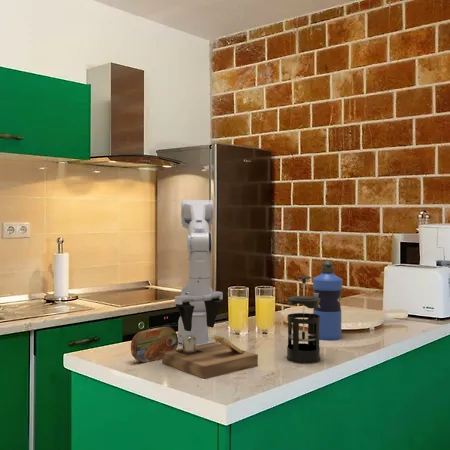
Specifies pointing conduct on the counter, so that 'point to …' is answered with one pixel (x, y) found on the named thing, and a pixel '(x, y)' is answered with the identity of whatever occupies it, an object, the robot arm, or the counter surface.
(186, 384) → the counter surface
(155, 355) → the tin
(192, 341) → the peg
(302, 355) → the french press
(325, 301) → the water bottle
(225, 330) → the counter surface
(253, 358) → the pin plate
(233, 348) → the keeper flap
